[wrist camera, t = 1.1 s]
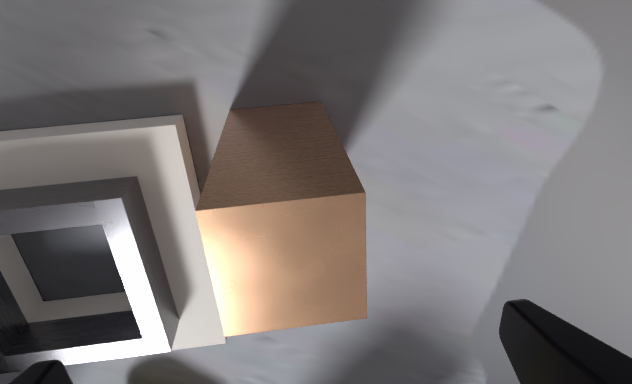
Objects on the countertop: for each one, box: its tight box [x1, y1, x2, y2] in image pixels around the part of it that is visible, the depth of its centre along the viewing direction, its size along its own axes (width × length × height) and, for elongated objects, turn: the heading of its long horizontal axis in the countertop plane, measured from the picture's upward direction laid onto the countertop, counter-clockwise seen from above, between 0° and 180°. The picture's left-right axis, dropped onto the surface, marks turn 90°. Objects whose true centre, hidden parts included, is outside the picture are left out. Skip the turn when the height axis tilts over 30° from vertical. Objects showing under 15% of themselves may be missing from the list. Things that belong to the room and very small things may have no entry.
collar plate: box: [0, 115, 227, 374], centre depth 18 cm, size 12×12×4 cm
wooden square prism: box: [195, 102, 367, 336], centre depth 14 cm, size 4×4×9 cm
